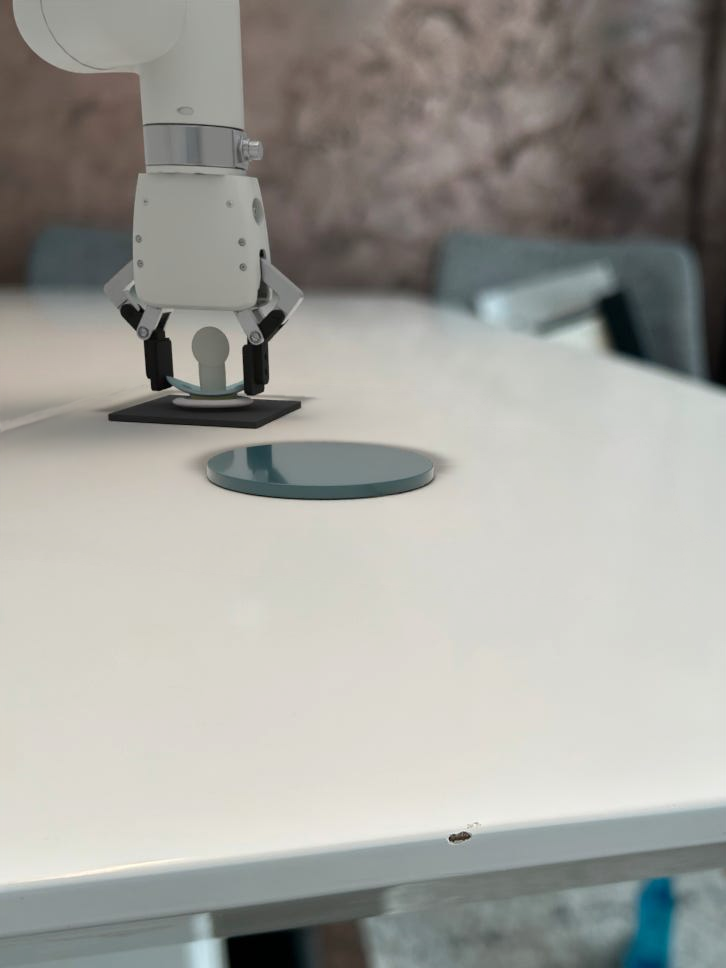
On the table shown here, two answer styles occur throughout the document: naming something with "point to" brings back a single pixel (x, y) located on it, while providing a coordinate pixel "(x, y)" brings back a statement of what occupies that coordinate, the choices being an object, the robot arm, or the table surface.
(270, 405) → the mat
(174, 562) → the table surface
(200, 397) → the pacifier
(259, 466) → the plate
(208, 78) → the robot arm
